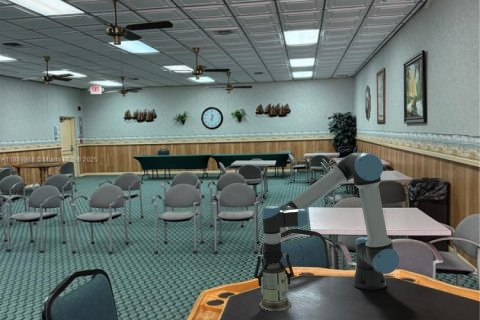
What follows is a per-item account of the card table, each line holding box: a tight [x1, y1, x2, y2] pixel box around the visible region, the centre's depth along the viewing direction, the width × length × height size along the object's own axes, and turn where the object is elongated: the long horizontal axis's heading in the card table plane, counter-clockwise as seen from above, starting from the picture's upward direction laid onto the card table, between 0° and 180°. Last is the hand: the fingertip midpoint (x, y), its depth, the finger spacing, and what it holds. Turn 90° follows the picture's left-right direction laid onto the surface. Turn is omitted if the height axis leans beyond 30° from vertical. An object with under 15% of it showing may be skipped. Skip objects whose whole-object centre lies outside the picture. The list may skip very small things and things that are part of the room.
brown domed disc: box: [258, 296, 292, 312], centre depth 191 cm, size 14×14×3 cm
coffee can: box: [261, 263, 288, 303], centre depth 190 cm, size 10×10×14 cm
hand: (274, 292), depth 190 cm, fingers closed on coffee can, 10 cm apart
